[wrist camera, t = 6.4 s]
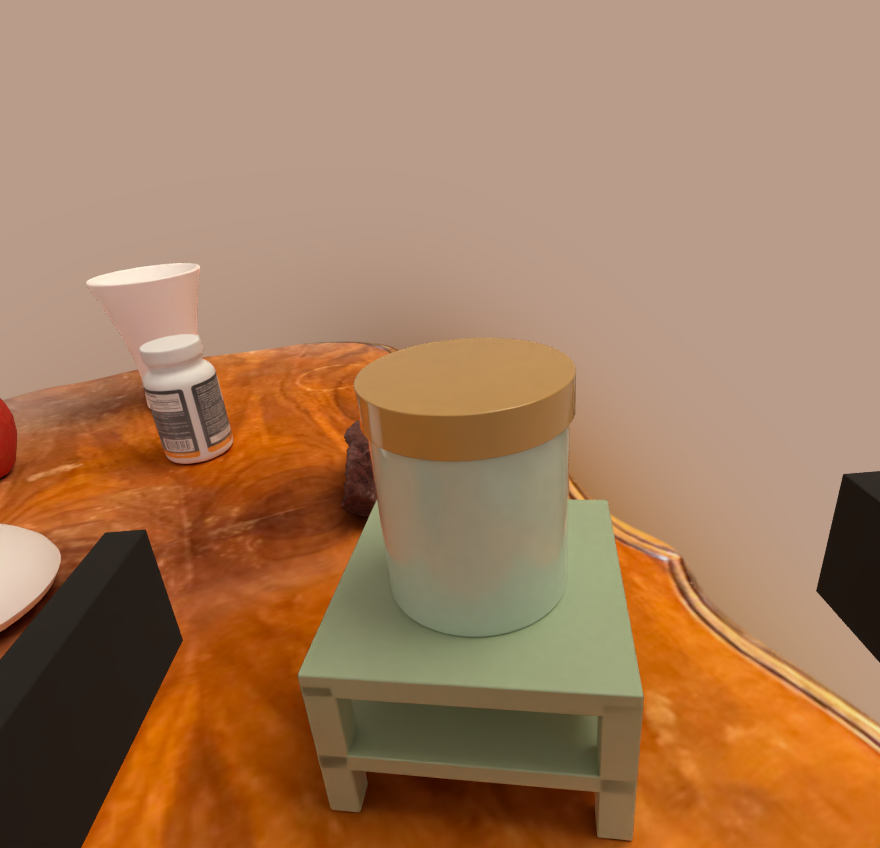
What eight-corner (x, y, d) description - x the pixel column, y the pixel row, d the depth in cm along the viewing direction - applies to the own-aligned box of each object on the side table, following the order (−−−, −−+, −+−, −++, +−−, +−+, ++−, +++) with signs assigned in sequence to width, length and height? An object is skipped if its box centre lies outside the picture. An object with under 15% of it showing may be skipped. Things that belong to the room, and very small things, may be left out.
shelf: (632, 841, 21) (644, 696, 18) (330, 810, 23) (295, 675, 20) (603, 616, 31) (607, 499, 28) (393, 607, 33) (377, 497, 30)
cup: (203, 376, 72) (173, 260, 66) (248, 393, 65) (218, 266, 59) (112, 405, 65) (70, 279, 60) (151, 428, 58) (108, 289, 53)
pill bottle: (220, 430, 56) (193, 327, 52) (244, 449, 52) (217, 339, 48) (157, 452, 53) (123, 344, 49) (178, 474, 49) (143, 358, 45)
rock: (405, 477, 51) (311, 496, 47) (398, 403, 50) (301, 418, 46) (467, 506, 41) (354, 533, 38) (459, 415, 40) (343, 434, 37)
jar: (578, 648, 20) (582, 413, 16) (363, 637, 21) (323, 417, 18) (569, 521, 27) (570, 334, 23) (405, 518, 28) (382, 340, 24)
